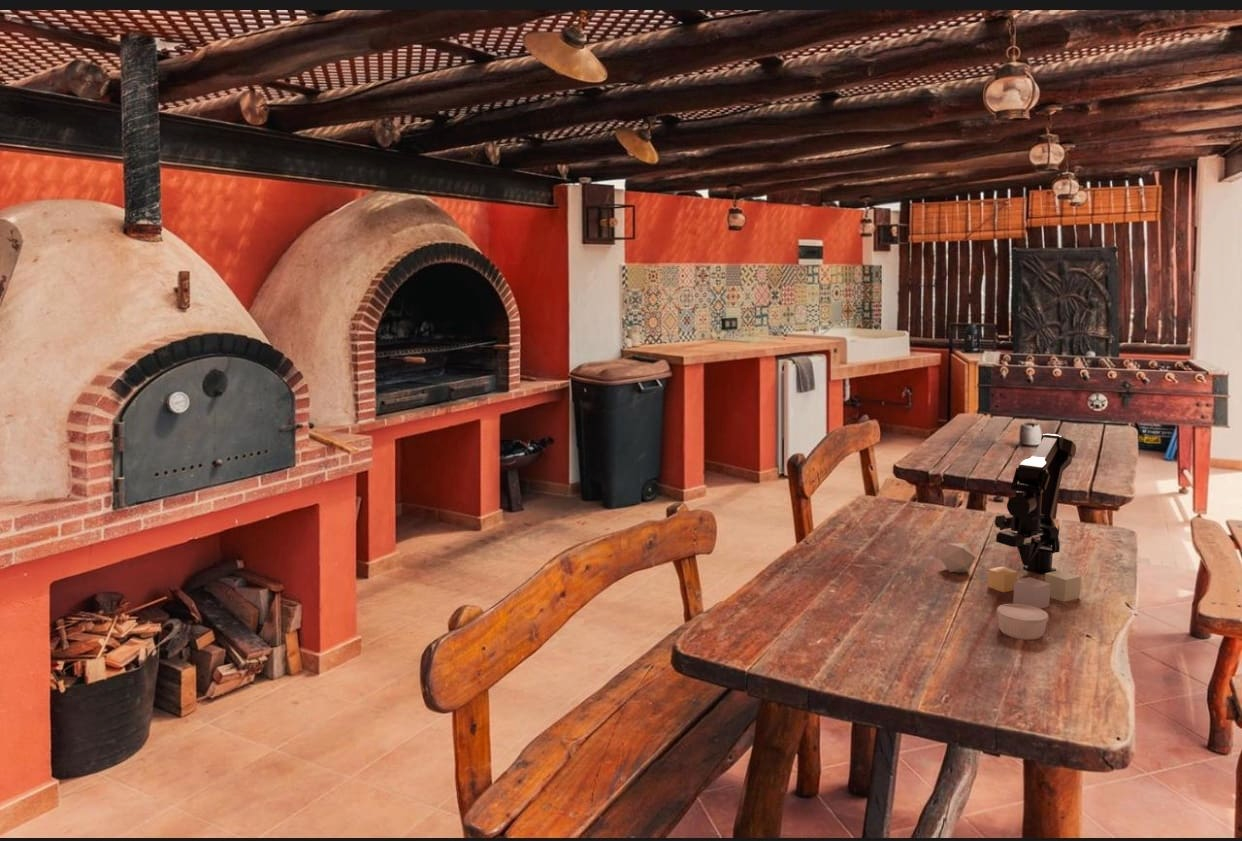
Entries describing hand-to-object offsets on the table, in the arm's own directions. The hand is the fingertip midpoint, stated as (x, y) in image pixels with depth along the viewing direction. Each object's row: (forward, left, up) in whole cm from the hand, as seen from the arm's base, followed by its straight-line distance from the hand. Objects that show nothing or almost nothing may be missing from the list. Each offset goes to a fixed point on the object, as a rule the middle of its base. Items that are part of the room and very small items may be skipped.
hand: (1025, 565), depth 248 cm
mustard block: (+9, 0, -5) cm, 10 cm away
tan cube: (+1, +12, -5) cm, 13 cm away
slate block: (+13, +12, -5) cm, 18 cm away
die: (+8, -16, -5) cm, 19 cm away
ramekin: (+31, +23, -5) cm, 39 cm away
